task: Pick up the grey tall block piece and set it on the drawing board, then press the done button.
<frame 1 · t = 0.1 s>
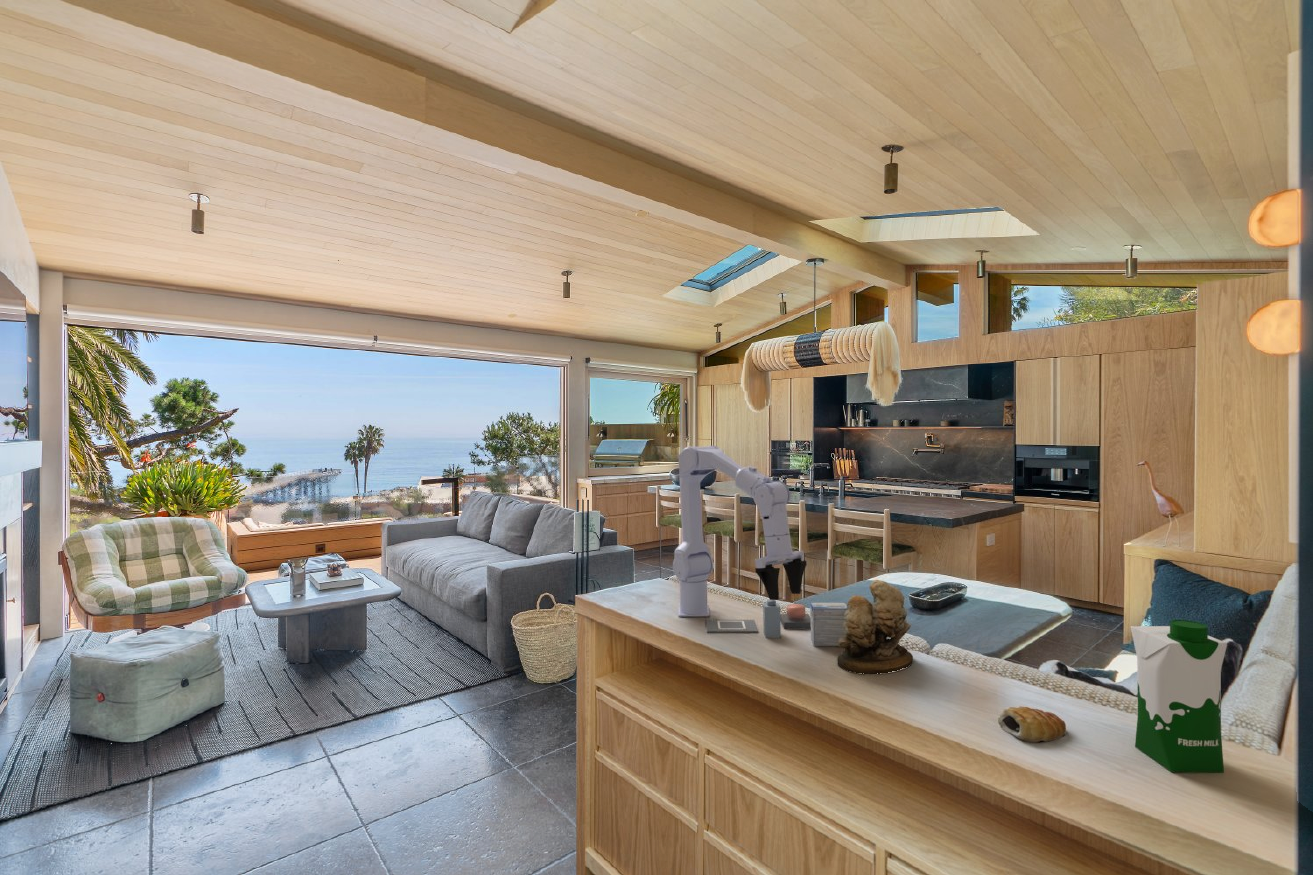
hand: (785, 596, 141), 11 cm above the table, tool pointing down, fingers open, 7 cm apart
done button: (796, 610, 155), point 3 cm above the table, slide at 0.0 cm
milk carton: (1177, 760, 90), on the table
pastry: (1030, 734, 99), on the table
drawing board: (731, 626, 154), on the table
grey tall block piece: (771, 634, 147), on the table
owl figurine: (876, 662, 129), on the table
done button base: (796, 624, 155), on the table
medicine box: (829, 644, 141), on the table
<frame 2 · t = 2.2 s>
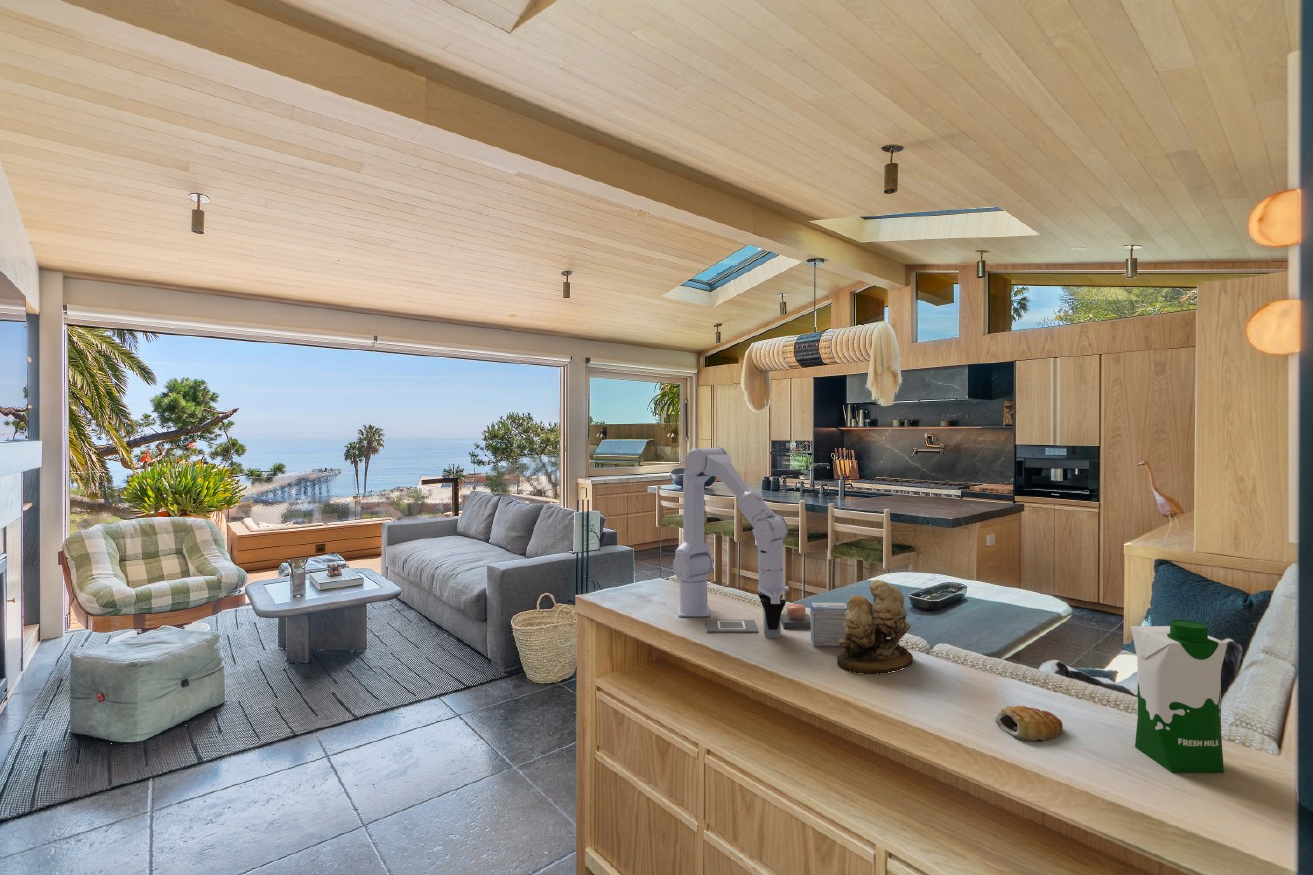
hand: (771, 626, 147), 2 cm above the table, tool pointing down, fingers closed on grey tall block piece, 3 cm apart
grey tall block piece: (771, 634, 147), on the table, touching gripper
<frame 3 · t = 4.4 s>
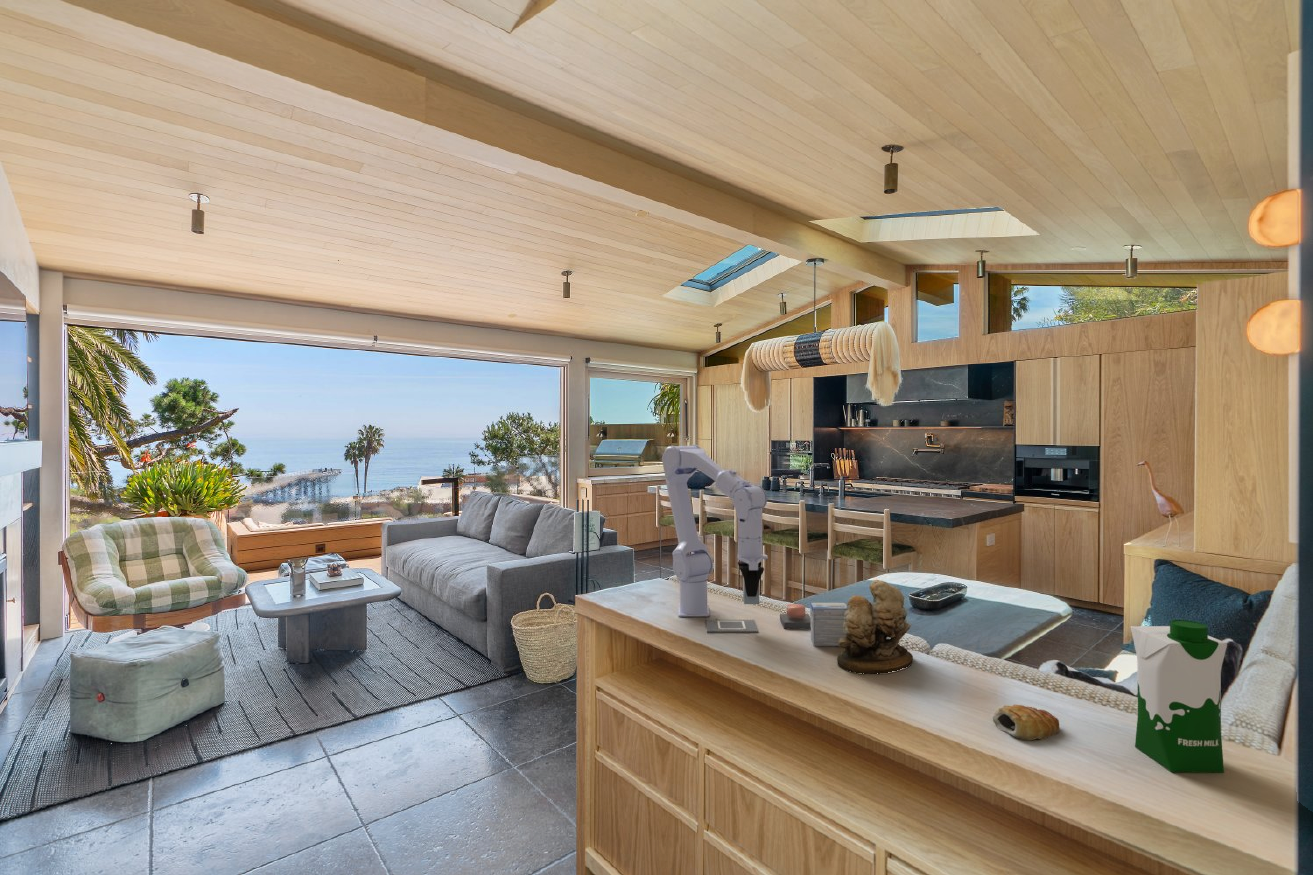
hand: (750, 593, 151), 9 cm above the table, tool pointing down, fingers closed on grey tall block piece, 3 cm apart
grey tall block piece: (751, 602, 151), point 7 cm above the table, touching gripper
when the fingers open (4 cm above the table, at t = 6.4 s): grey tall block piece drops 2 cm, resting on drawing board.
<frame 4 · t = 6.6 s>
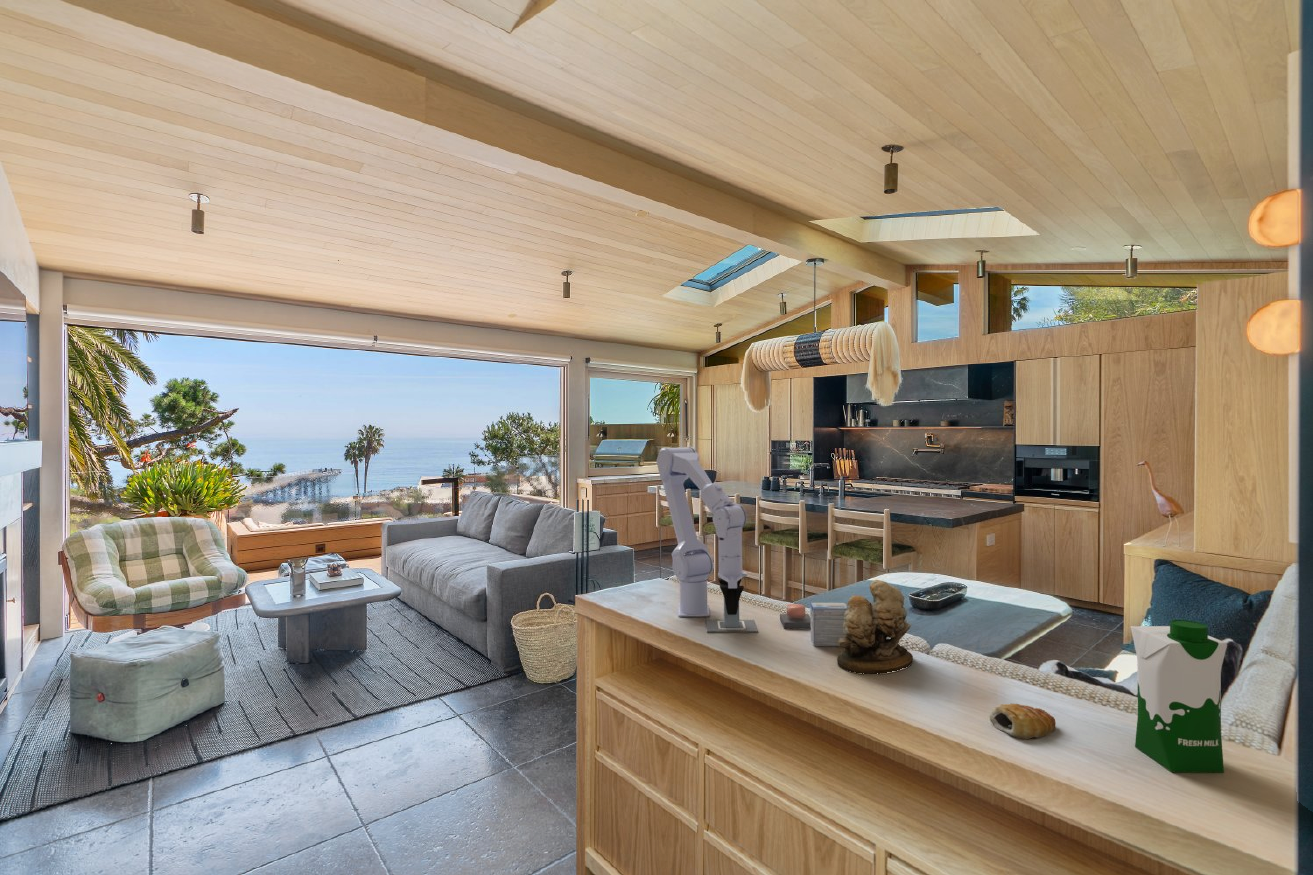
hand: (731, 610, 154), 4 cm above the table, tool pointing down, fingers open, 5 cm apart
grey tall block piece: (731, 625, 154), resting on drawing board
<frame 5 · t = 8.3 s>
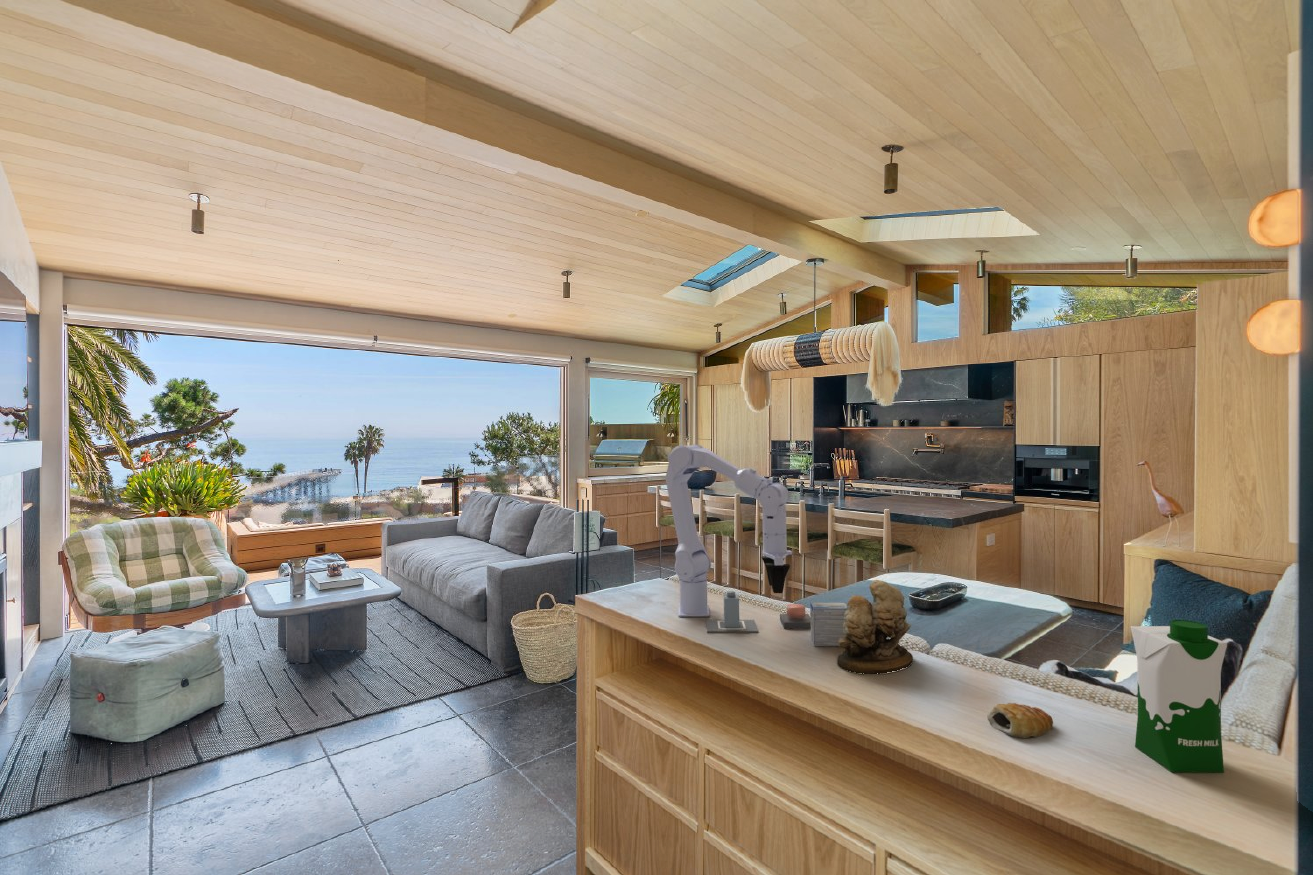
hand: (775, 588, 154), 9 cm above the table, tool pointing down, fingers open, 7 cm apart
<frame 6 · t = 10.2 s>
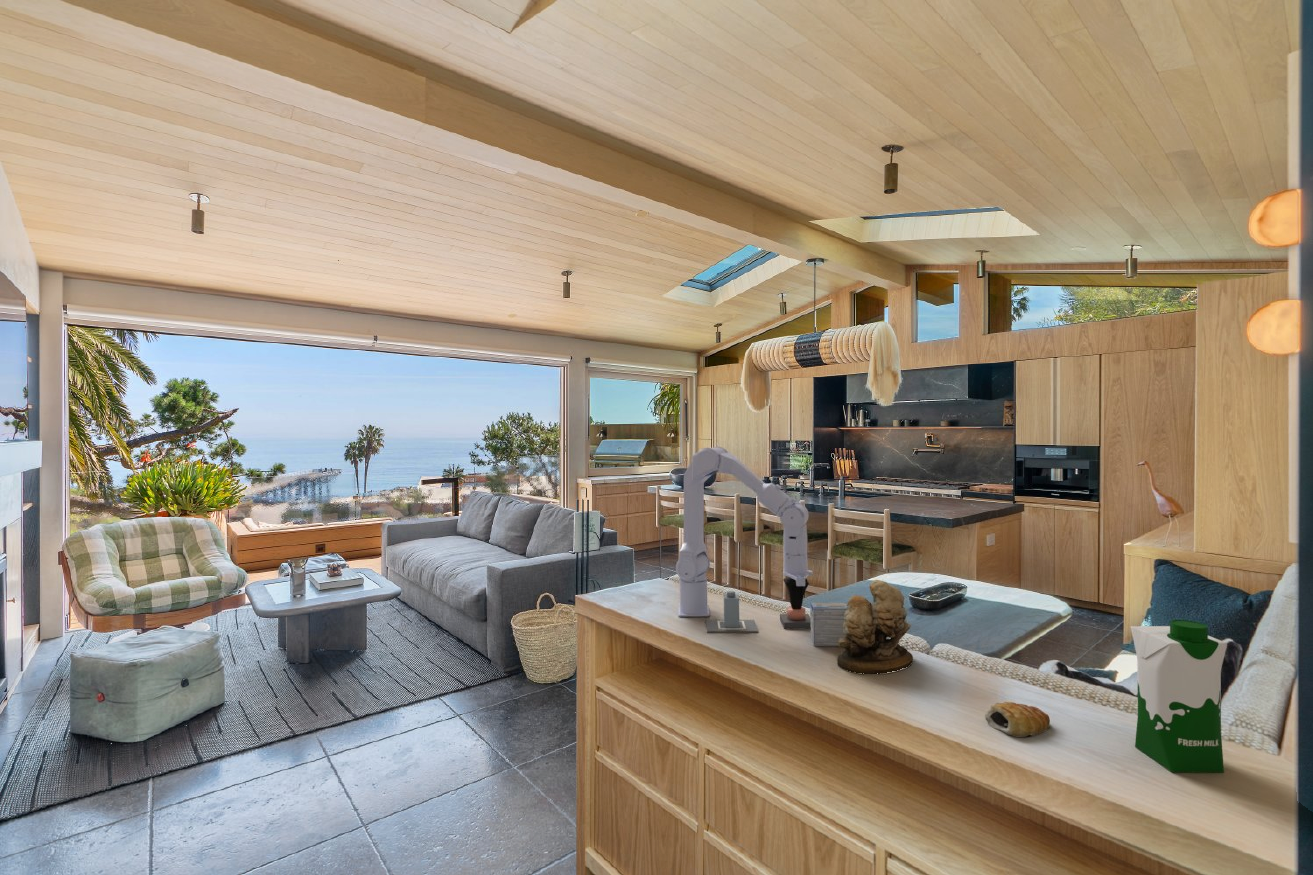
hand: (796, 608, 155), 4 cm above the table, tool pointing down, fingers closed, pressing on done button
done button: (796, 613, 155), point 3 cm above the table, slide at 0.6 cm, touching gripper
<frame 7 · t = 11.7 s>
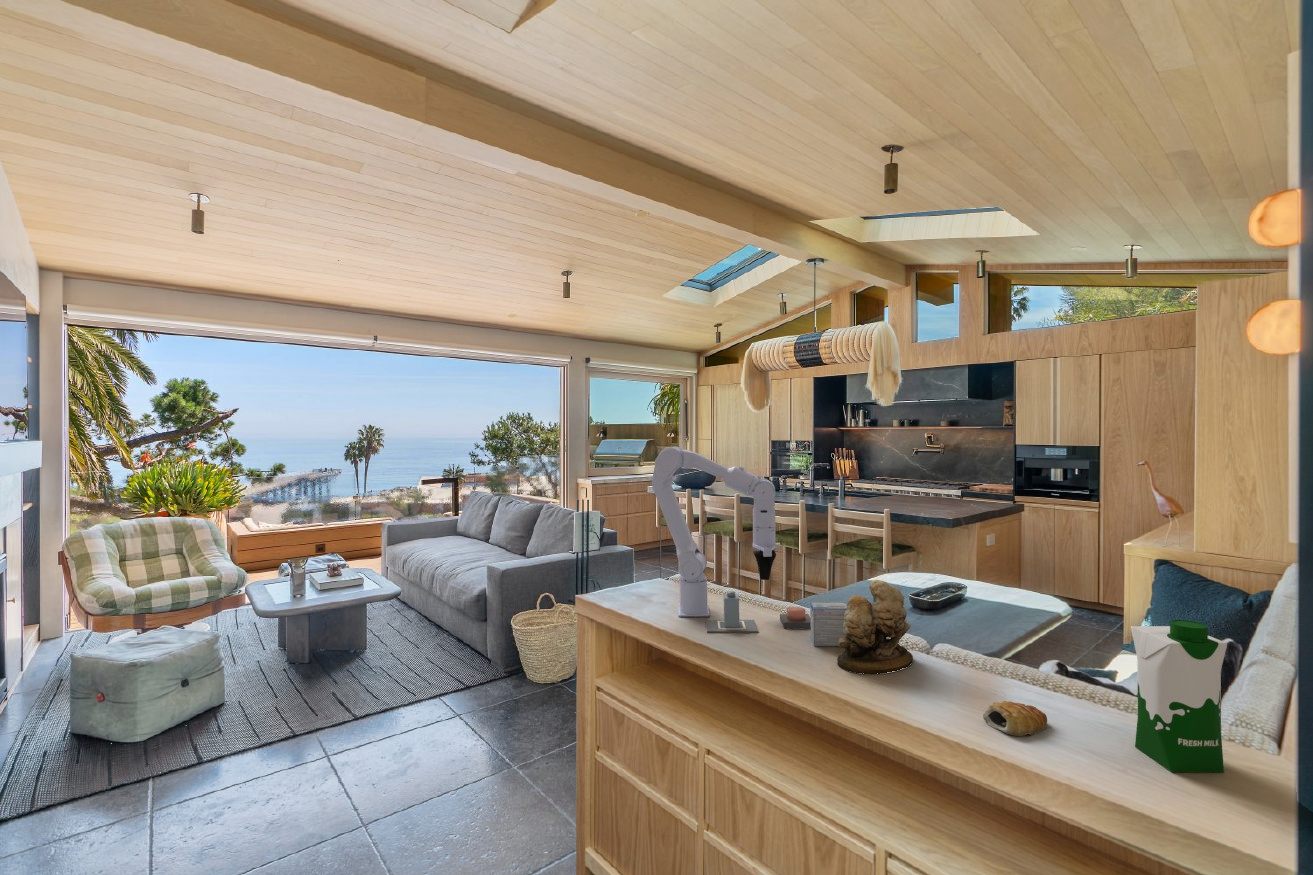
hand: (764, 579, 163), 9 cm above the table, tool pointing down, fingers closed
done button: (796, 613, 155), point 3 cm above the table, slide at 0.7 cm, touching done button base
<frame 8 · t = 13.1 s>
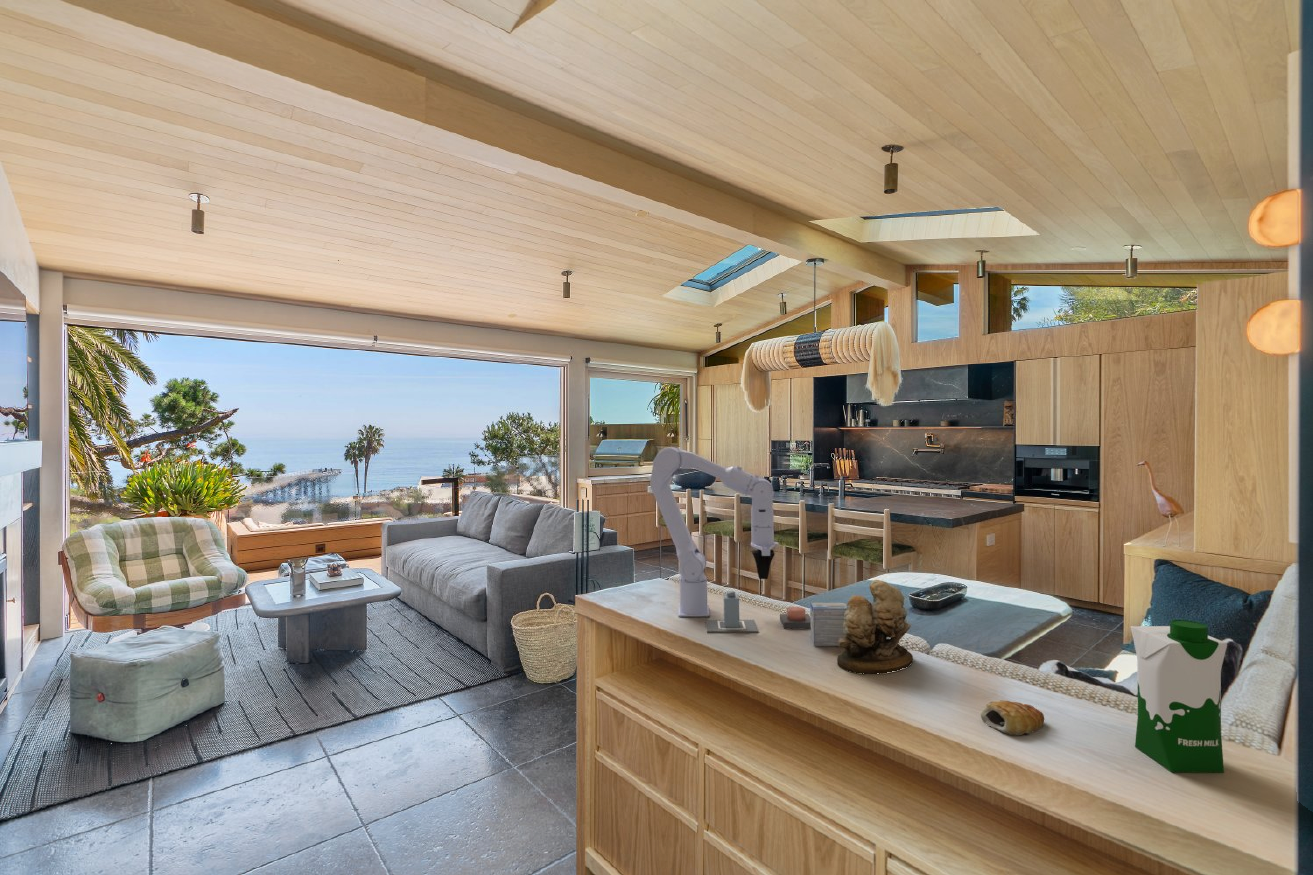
hand: (763, 578, 163), 9 cm above the table, tool pointing down, fingers closed
at the end: grey tall block piece 0.1 cm off-centre on the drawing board, point 0.4 cm above the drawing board's base; grey tall block piece tilted 0°; done button slide at 0.7 cm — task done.
